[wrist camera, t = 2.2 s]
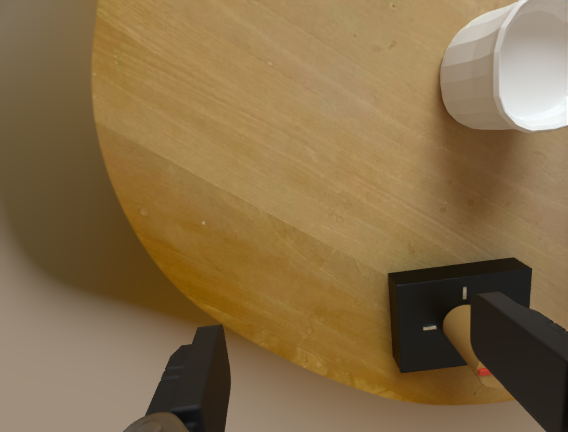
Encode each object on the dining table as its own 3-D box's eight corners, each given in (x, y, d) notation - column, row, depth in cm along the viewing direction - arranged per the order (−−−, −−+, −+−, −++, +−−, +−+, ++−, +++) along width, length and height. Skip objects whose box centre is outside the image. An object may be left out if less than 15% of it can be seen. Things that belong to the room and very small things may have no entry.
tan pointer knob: (485, 301, 38) (533, 345, 31) (484, 339, 39) (530, 388, 32) (442, 307, 38) (479, 351, 31) (442, 344, 39) (478, 394, 32)
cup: (470, 148, 36) (536, 161, 27) (410, 70, 34) (460, 55, 25) (551, 81, 35) (652, 69, 25) (494, -6, 32) (582, -54, 23)
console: (513, 257, 40) (533, 269, 37) (509, 341, 43) (527, 359, 40) (388, 273, 40) (397, 286, 37) (392, 356, 43) (401, 374, 40)
